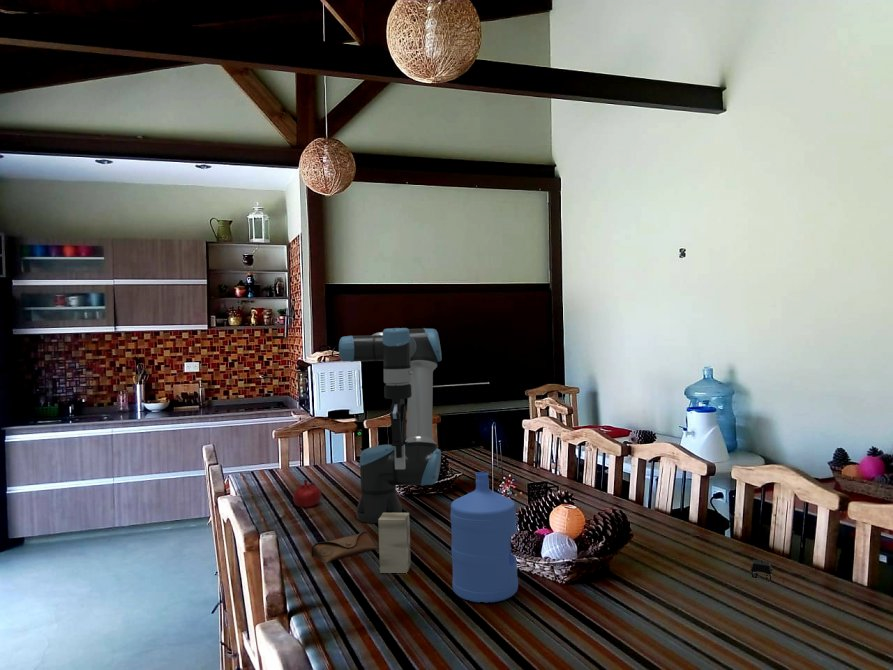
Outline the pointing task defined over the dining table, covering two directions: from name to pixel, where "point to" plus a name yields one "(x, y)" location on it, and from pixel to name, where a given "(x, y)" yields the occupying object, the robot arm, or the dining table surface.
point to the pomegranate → (307, 495)
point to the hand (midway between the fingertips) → (400, 468)
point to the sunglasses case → (343, 547)
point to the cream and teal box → (394, 543)
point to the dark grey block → (761, 568)
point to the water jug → (483, 544)
